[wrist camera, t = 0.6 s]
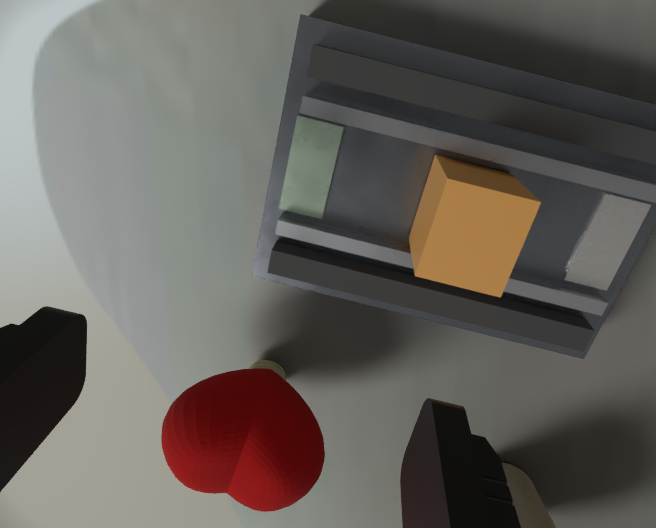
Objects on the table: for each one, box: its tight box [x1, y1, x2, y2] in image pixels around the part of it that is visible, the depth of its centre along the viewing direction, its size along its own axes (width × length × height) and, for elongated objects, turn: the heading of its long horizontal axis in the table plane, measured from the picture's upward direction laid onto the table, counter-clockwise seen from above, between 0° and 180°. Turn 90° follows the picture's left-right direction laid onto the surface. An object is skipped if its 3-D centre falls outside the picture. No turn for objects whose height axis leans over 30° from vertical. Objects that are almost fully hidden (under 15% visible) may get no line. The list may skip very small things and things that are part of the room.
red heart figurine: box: [162, 360, 325, 512], centre depth 30 cm, size 9×7×10 cm
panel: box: [252, 14, 656, 359], centre depth 27 cm, size 20×14×4 cm
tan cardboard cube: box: [409, 155, 541, 298], centre depth 24 cm, size 4×5×5 cm
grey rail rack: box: [267, 44, 656, 352], centre depth 26 cm, size 18×12×1 cm, turn 77°
